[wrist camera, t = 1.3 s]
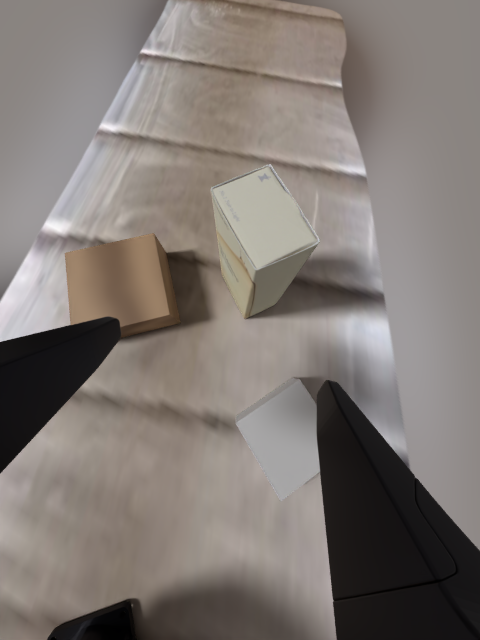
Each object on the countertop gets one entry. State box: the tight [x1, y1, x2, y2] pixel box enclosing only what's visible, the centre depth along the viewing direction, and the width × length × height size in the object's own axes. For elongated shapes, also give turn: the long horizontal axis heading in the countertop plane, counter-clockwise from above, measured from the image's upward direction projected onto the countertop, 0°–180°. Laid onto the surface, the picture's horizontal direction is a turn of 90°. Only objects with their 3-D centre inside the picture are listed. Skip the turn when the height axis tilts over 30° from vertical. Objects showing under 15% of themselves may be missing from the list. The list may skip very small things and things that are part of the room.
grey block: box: [236, 378, 320, 501], centre depth 19 cm, size 7×7×3 cm
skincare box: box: [211, 164, 320, 319], centre depth 18 cm, size 6×4×12 cm
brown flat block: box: [65, 233, 181, 338], centre depth 22 cm, size 9×9×4 cm
